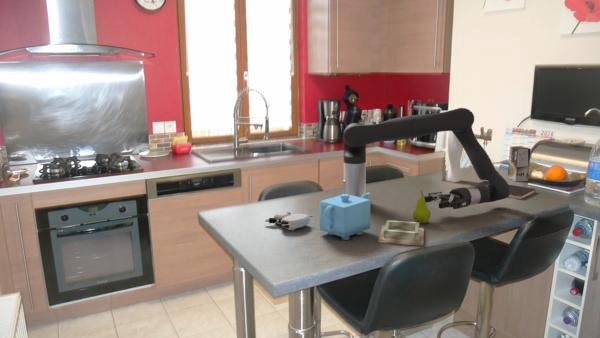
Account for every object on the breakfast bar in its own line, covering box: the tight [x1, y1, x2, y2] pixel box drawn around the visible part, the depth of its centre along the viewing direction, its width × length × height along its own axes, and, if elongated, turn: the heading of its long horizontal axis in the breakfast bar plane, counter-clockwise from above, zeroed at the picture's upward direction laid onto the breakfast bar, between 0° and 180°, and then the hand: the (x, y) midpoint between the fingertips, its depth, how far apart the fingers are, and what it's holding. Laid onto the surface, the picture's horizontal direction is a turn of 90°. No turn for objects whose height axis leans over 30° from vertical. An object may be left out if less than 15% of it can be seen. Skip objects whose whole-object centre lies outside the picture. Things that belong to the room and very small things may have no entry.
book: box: [471, 180, 536, 200], centre depth 203 cm, size 16×23×2 cm
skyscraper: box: [441, 131, 464, 184], centre depth 221 cm, size 8×8×28 cm
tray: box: [378, 219, 425, 246], centre depth 150 cm, size 14×14×4 cm
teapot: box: [319, 191, 371, 241], centre depth 153 cm, size 22×11×14 cm, turn 132°
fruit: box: [412, 189, 431, 224], centre depth 162 cm, size 6×6×12 cm
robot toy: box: [264, 212, 315, 231], centre depth 162 cm, size 12×4×15 cm
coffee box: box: [507, 145, 532, 182], centre depth 223 cm, size 9×6×16 cm
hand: (431, 202), depth 163 cm, fingers open, 8 cm apart
